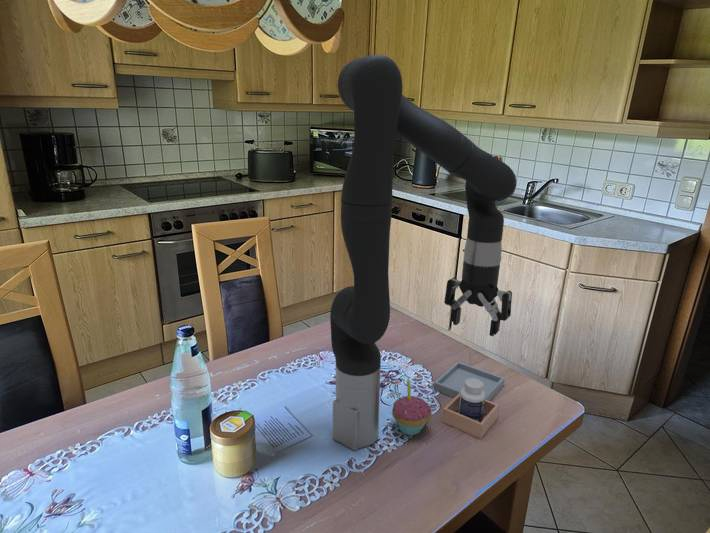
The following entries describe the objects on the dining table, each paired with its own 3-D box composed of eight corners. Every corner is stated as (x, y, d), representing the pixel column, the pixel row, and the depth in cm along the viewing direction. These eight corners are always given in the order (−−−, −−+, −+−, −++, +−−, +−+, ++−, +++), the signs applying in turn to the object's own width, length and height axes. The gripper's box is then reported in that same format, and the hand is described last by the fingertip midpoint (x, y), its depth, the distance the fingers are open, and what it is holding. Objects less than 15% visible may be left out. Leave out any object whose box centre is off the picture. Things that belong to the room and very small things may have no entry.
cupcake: (384, 422, 108) (385, 376, 104) (415, 412, 112) (418, 367, 108) (405, 445, 101) (407, 396, 97) (438, 434, 105) (441, 386, 101)
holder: (480, 438, 103) (482, 425, 102) (442, 421, 109) (443, 408, 108) (497, 418, 110) (499, 404, 109) (460, 402, 116) (461, 390, 115)
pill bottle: (484, 427, 107) (489, 390, 104) (460, 427, 107) (464, 389, 104) (479, 413, 112) (483, 376, 109) (456, 412, 112) (459, 375, 109)
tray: (482, 409, 113) (483, 401, 113) (433, 389, 121) (434, 382, 120) (503, 385, 123) (504, 378, 122) (457, 368, 131) (457, 361, 130)
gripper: (443, 256, 102) (437, 326, 108) (508, 271, 94) (499, 345, 100) (458, 249, 108) (452, 315, 113) (521, 261, 100) (511, 332, 105)
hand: (474, 329), depth 106 cm, fingers open, 8 cm apart
